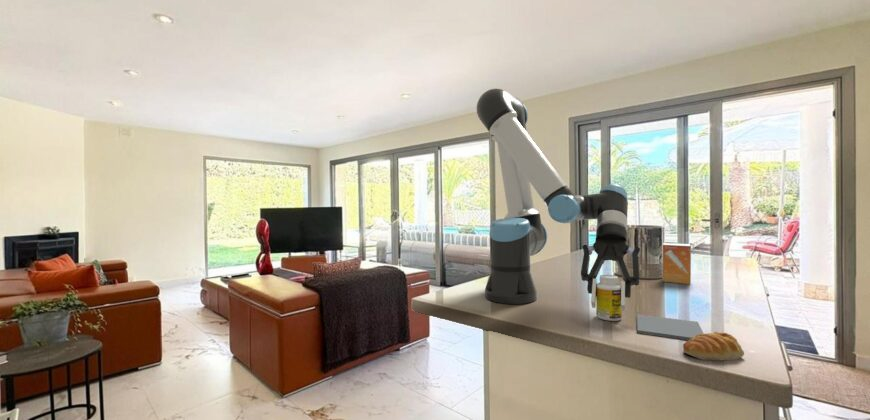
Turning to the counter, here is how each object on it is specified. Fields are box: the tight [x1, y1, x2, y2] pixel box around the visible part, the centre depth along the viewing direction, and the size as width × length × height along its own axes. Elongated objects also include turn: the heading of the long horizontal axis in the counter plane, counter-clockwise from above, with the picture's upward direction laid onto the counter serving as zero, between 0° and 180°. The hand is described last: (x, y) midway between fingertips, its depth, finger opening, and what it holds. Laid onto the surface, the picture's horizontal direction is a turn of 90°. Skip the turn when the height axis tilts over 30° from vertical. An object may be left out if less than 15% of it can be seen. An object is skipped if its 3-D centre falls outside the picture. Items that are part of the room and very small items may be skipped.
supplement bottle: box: [595, 274, 623, 322], centre depth 87 cm, size 6×6×10 cm
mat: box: [636, 314, 705, 341], centre depth 79 cm, size 12×12×1 cm
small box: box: [662, 242, 692, 285], centre depth 124 cm, size 8×6×13 cm
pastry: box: [682, 331, 745, 362], centre depth 66 cm, size 9×7×4 cm
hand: (607, 306), depth 84 cm, fingers closed on supplement bottle, 5 cm apart
